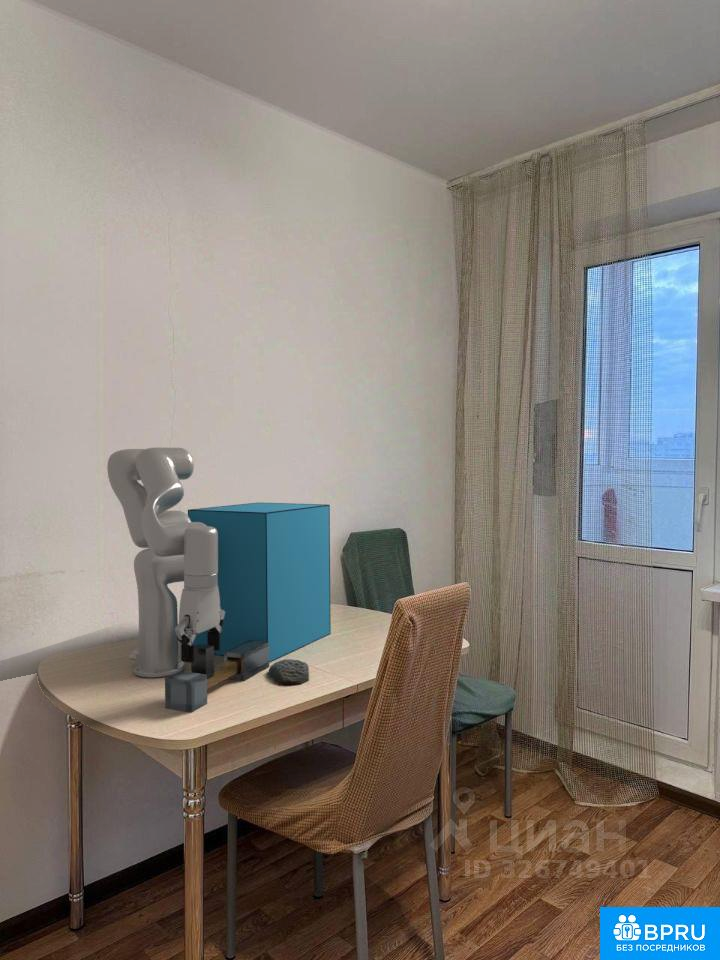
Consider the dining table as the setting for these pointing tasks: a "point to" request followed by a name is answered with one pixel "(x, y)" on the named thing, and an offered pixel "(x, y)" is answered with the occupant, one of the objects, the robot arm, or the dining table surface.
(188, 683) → the socket
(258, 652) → the sleeve
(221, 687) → the dining table surface
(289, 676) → the fossil
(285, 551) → the box
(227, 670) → the tan bar piece
